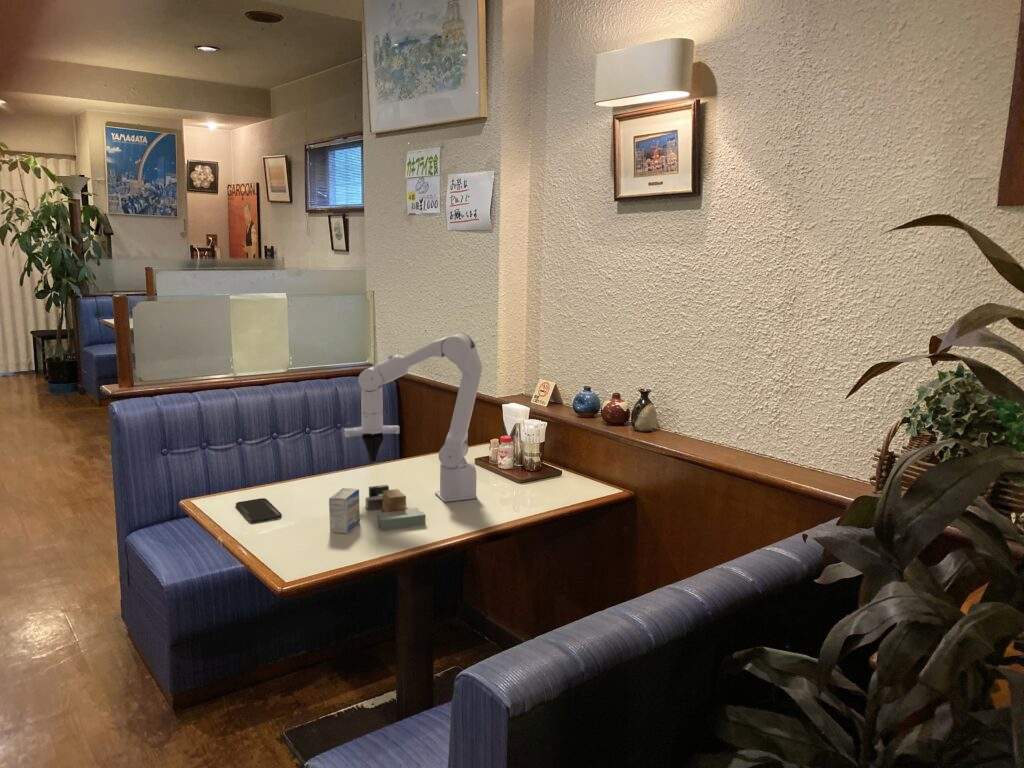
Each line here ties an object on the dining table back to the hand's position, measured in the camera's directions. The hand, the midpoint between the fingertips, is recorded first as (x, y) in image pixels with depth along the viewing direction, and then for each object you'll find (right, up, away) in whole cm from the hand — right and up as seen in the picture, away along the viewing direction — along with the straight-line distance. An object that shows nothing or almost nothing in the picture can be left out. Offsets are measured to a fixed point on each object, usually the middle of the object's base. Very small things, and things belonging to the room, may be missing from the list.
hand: (372, 460), depth 209 cm
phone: (-26, -12, -16) cm, 33 cm away
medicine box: (-2, -14, -25) cm, 29 cm away
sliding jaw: (+4, -10, -7) cm, 13 cm away
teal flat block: (+11, -13, -22) cm, 28 cm away
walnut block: (+8, -12, -17) cm, 22 cm away
